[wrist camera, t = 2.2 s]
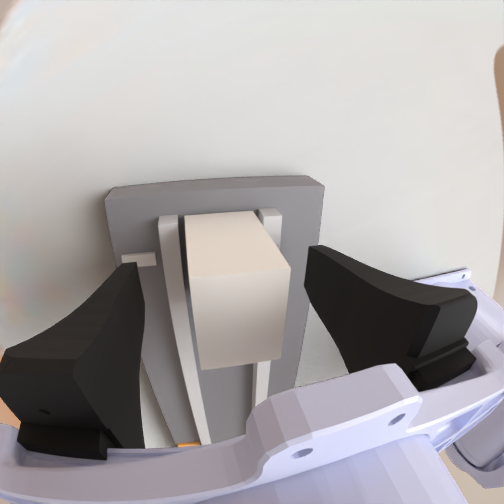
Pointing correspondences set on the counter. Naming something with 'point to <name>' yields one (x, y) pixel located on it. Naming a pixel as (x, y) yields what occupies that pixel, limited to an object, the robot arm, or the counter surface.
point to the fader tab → (235, 289)
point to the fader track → (179, 297)
